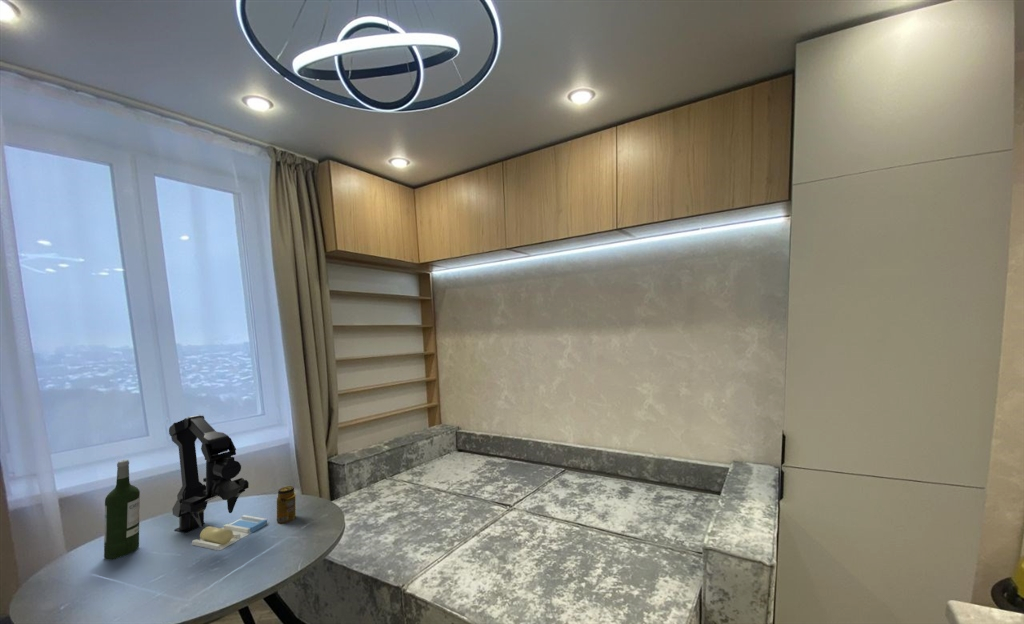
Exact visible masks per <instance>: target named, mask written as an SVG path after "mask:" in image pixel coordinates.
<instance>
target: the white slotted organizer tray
mask: <svg viewBox="0 0 1024 624" xmlns="http://www.w3.org/2000/svg"><path fill="white" fill-rule="evenodd" d="M269 523H270V522H268V518H263V517H258V516H252V515H243V514H242V515H241V518H239V519H237V520H235V521H234V522H231V523H229V524H228V523H226V524H223V527H221V529H226V530H231V531H232V532H233V536H232V539H231V540H230V541H229V542H228V543H226V544H221V543H216V542H211V541H206V540H202V539H200V538H199V539H197V538H196V539H193V540H192V541H191V543H190V545H192V546H196V547H200V548H205V549H210V550H215V551H221V550H224V549H225V548H227V547H229V546H230V545H232V544H234V543H236V542H238V541H240V540H241V539H243V538H245V537H247V536H248V535H251V534H252V533H254V532H255V531H257V530H260V529H261V528H263V527H264V526H266V525H268V524H269Z"/></svg>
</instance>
